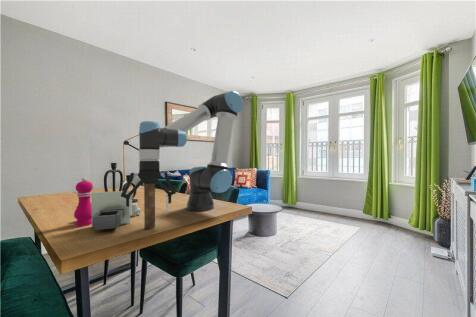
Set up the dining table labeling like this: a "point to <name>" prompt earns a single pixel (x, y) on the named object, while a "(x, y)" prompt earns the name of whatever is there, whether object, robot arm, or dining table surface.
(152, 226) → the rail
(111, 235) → the dining table surface
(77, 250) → the dining table surface
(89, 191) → the pepper mill
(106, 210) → the grey card holder
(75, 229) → the dining table surface
